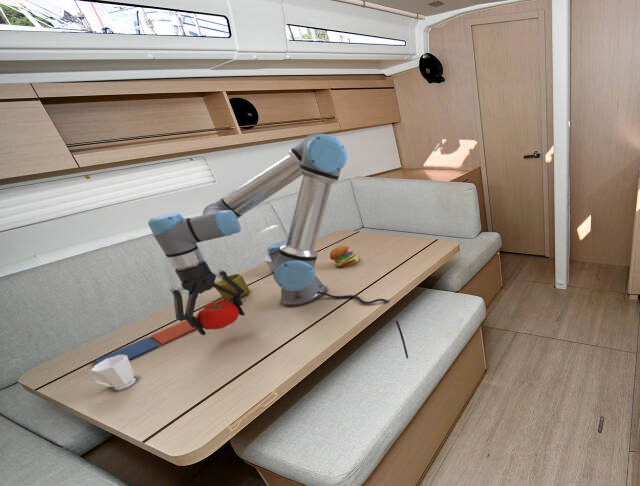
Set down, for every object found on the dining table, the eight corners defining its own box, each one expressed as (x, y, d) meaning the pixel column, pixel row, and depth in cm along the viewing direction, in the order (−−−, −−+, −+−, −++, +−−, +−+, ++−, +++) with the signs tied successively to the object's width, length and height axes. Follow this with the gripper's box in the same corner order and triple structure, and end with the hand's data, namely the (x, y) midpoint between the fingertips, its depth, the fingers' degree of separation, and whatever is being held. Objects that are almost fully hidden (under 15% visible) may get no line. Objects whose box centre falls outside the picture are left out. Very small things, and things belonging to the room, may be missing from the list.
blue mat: (158, 346, 116) (158, 345, 116) (104, 372, 106) (103, 370, 106) (148, 338, 121) (147, 337, 121) (95, 362, 111) (94, 360, 111)
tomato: (223, 334, 110) (212, 315, 107) (195, 333, 112) (183, 314, 109) (251, 314, 120) (241, 296, 116) (225, 314, 122) (215, 295, 118)
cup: (130, 390, 98) (113, 368, 94) (88, 398, 96) (70, 376, 93) (148, 373, 104) (133, 351, 100) (109, 380, 102) (93, 358, 99)
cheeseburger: (356, 266, 162) (345, 247, 157) (335, 273, 162) (323, 255, 158) (361, 256, 171) (351, 239, 166) (341, 264, 171) (330, 246, 167)
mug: (259, 285, 147) (239, 268, 141) (240, 304, 140) (218, 287, 134) (242, 287, 153) (222, 271, 147) (223, 305, 146) (202, 289, 140)
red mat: (208, 323, 126) (207, 322, 126) (162, 345, 117) (161, 343, 116) (196, 317, 131) (196, 315, 131) (152, 337, 122) (151, 335, 121)
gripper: (226, 247, 117) (254, 303, 126) (135, 280, 99) (175, 341, 109) (237, 250, 113) (265, 307, 123) (144, 285, 95) (185, 348, 105)
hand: (223, 323), depth 116 cm, fingers closed on tomato, 11 cm apart
